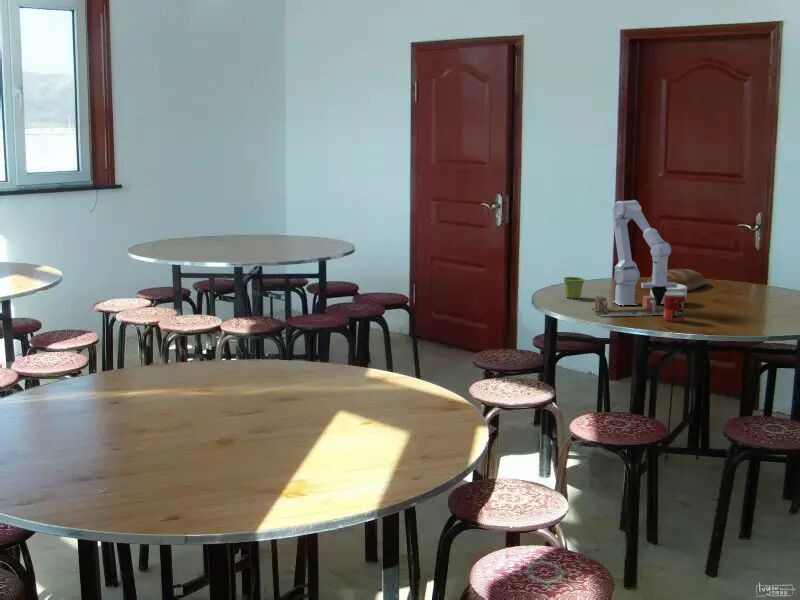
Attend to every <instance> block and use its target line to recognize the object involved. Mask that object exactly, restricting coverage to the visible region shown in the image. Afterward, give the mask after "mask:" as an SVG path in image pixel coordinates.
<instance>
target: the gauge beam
mask: <svg viewBox="0 0 800 600" xmlns="http://www.w3.org/2000/svg"><path fill="white" fill-rule="evenodd" d="M608 305H609V304H608V302H607V297H606V296H604V295H595V305H594V307H591V310H593V311H594V312H637V311H653V309H646V308H644V307H643V306H619V307H608ZM655 311H664V306H656V309H655Z"/></svg>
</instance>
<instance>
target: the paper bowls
mask: <svg viewBox="0 0 800 600" xmlns="http://www.w3.org/2000/svg"><path fill="white" fill-rule="evenodd" d="M650 289H651V288H650ZM650 289H649V290H650ZM666 289H667V292H670V291H675V292H683V293H685V299H687V295H688V291H687V287H686V286H685V285H681V284H677V288H674V287H672V288H666ZM649 296H651V297H653V298H654V295H653V292H652V290H650V291H649ZM664 299H665V295H664V297H663V299H662V302H661V304H664ZM654 300H655V298H654Z"/></svg>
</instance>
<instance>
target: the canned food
mask: <svg viewBox="0 0 800 600" xmlns="http://www.w3.org/2000/svg"><path fill="white" fill-rule="evenodd" d="M685 306H686V298H685V293H683V292H675V291H670V292H665V299H664V305H663V307H664V316H663V320H664V321H665V322H667V321H669V322H668V323H675V322H678V323H682V322H684V320H685Z"/></svg>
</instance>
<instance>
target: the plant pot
mask: <svg viewBox="0 0 800 600" xmlns="http://www.w3.org/2000/svg"><path fill="white" fill-rule="evenodd" d="M562 280H563V282H564V287H565V288H564V289H565V298H566V297H570V298H578V299H580V298H581V295H582V290H583V285H584V282H585V278H584V277H578V276H565V277H563V278H562ZM579 297H580V298H579ZM570 298H569V299H570Z"/></svg>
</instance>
